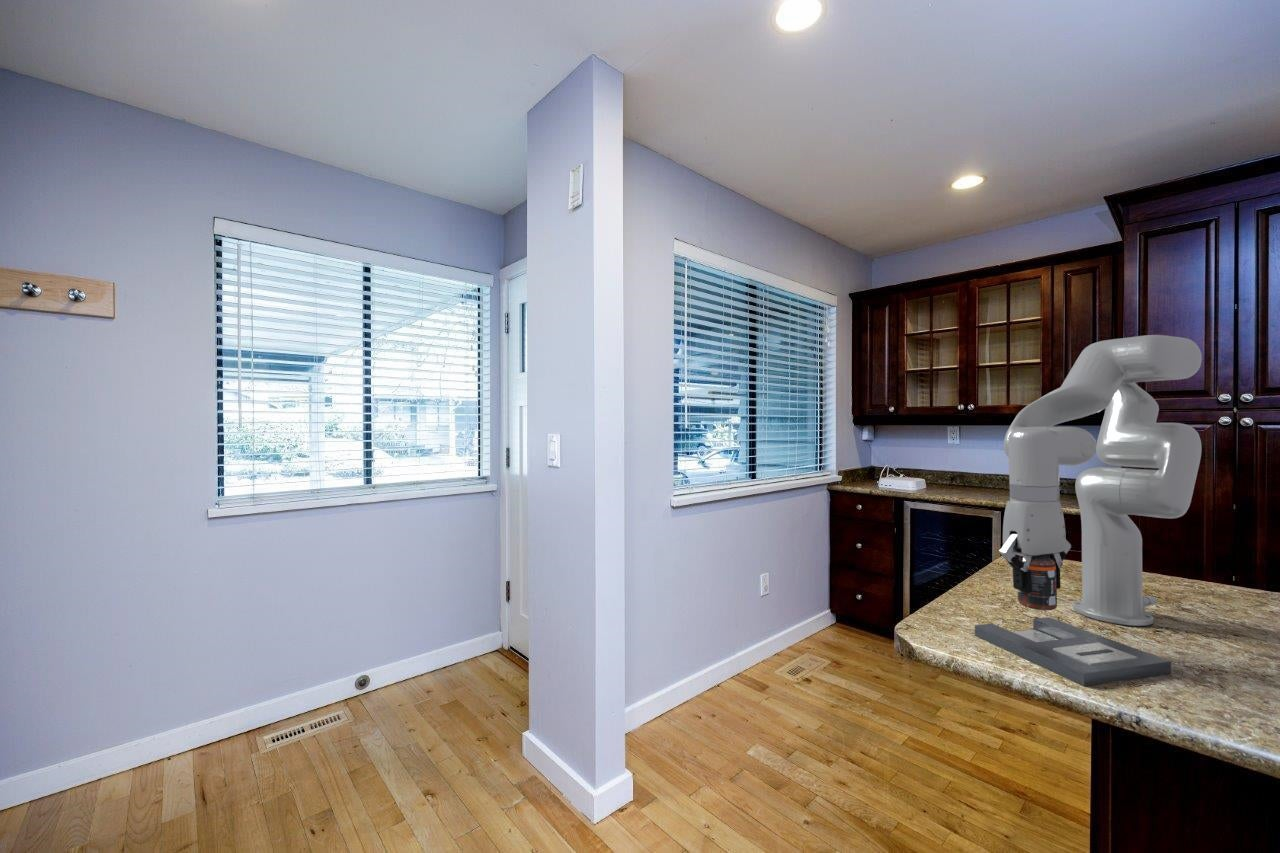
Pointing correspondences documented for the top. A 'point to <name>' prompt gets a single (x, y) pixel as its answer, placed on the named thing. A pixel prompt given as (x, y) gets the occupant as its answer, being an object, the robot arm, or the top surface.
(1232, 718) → the top surface
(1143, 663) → the plate
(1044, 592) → the supplement bottle
